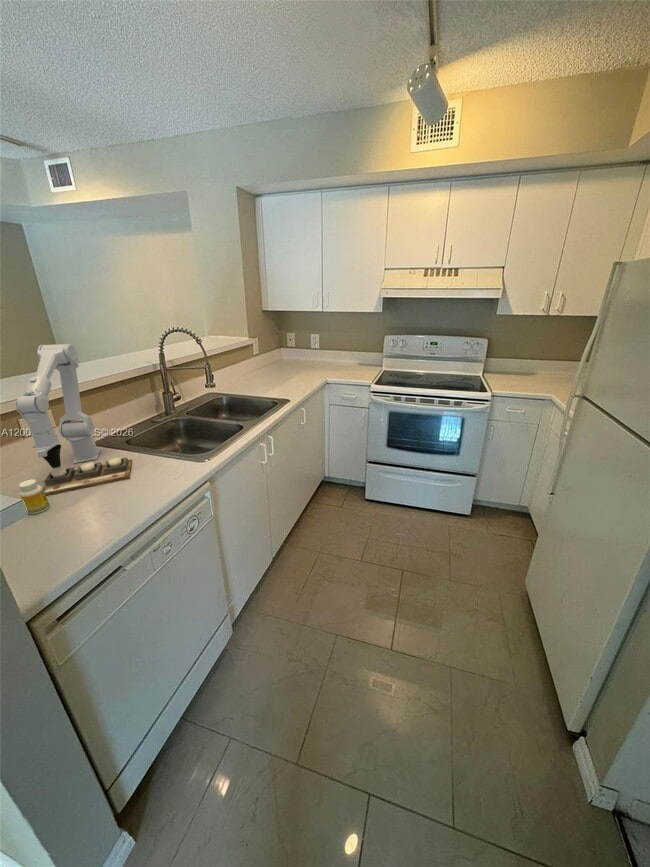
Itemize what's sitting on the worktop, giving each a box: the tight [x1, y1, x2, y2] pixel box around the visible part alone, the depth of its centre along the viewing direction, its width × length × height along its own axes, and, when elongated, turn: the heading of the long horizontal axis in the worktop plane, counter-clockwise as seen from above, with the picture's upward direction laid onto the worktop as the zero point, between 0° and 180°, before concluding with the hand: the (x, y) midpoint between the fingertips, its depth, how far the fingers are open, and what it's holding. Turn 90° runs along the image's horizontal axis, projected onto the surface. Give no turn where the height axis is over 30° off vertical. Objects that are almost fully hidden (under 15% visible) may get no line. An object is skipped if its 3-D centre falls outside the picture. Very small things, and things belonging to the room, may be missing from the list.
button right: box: [107, 456, 122, 467], centre depth 122 cm, size 4×4×2 cm
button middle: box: [80, 461, 95, 473], centre depth 118 cm, size 4×4×2 cm
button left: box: [50, 466, 67, 478], centre depth 115 cm, size 4×4×2 cm
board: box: [42, 457, 133, 497], centre depth 118 cm, size 14×26×3 cm, turn 114°
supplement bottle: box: [18, 479, 50, 515], centre depth 100 cm, size 5×5×10 cm
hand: (56, 466), depth 114 cm, fingers closed
